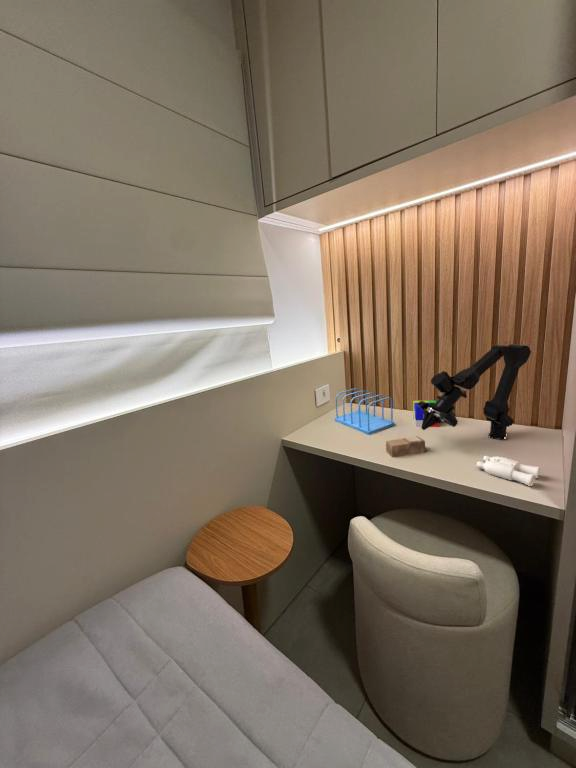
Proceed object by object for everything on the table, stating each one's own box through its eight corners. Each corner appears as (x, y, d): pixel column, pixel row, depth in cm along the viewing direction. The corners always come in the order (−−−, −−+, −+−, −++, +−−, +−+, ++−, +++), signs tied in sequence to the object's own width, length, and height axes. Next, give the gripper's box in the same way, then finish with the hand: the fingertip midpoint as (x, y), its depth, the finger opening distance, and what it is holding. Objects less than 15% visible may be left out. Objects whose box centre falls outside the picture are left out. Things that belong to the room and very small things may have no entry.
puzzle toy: (415, 426, 153) (416, 406, 151) (413, 419, 163) (413, 400, 160) (438, 427, 151) (439, 407, 149) (434, 419, 160) (434, 400, 158)
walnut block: (418, 435, 132) (386, 440, 130) (425, 440, 127) (392, 445, 125) (417, 447, 133) (386, 452, 131) (424, 452, 128) (392, 457, 126)
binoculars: (530, 490, 99) (532, 476, 98) (474, 472, 111) (475, 460, 110) (540, 477, 106) (541, 464, 105) (486, 461, 118) (487, 450, 117)
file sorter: (334, 421, 169) (333, 393, 166) (359, 413, 178) (358, 386, 174) (368, 435, 148) (368, 403, 145) (394, 426, 157) (395, 395, 153)
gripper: (477, 418, 121) (450, 449, 122) (445, 404, 139) (421, 432, 140) (460, 401, 118) (432, 433, 119) (429, 389, 136) (405, 417, 137)
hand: (422, 429), depth 129 cm, fingers closed
